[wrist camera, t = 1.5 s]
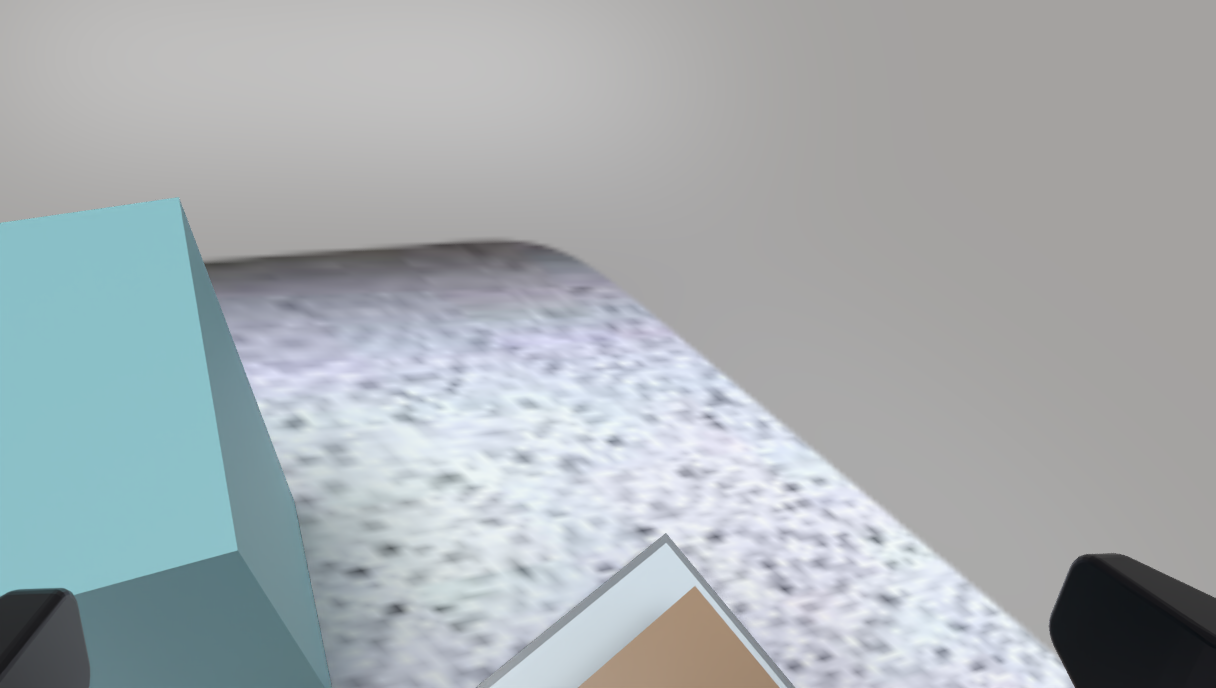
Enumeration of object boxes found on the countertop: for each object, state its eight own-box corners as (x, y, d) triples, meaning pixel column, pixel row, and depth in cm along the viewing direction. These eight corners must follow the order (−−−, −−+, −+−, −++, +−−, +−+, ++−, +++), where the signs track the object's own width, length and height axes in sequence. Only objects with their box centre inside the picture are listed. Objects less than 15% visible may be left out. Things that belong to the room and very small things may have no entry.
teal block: (335, 703, 19) (238, 550, 9) (90, 786, 18) (-353, 710, 8) (294, 502, 22) (178, 197, 11) (72, 560, 20) (-296, 265, 10)
